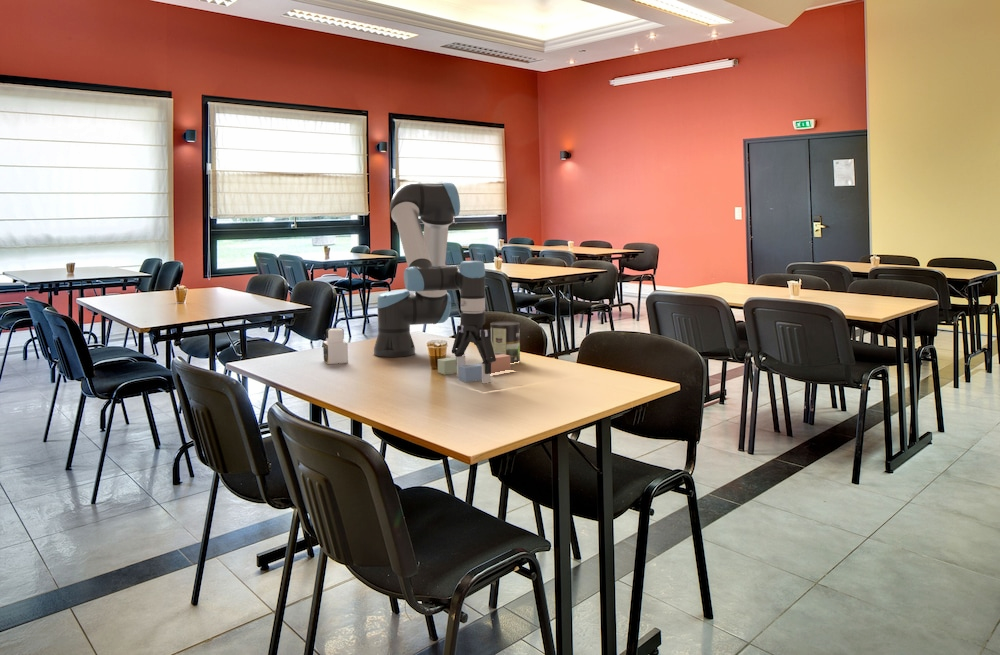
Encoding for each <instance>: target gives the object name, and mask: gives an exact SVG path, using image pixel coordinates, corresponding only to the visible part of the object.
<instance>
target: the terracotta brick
mask: <svg viewBox="0 0 1000 655" xmlns="http://www.w3.org/2000/svg"><path fill="white" fill-rule="evenodd" d="M491 358H492V357H491ZM495 358H496V361H494V362H492V363H491V373H495V372H500V371H505V370H510V369H511V365H510V356H509V355H505V354H500V355H495ZM486 359H487V358H486Z"/></svg>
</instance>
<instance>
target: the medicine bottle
mask: <svg viewBox="0 0 1000 655" xmlns="http://www.w3.org/2000/svg"><path fill="white" fill-rule="evenodd" d="M348 346H349V345H348V342H347V341H345V330H344V329H343V328H342V327H330V328H327V329H326V330H325V340H323V342H322V347H323V348H322V349H323V351H322V352H323V361H324V362H325V363H326V364H327V365H338V363H339V364H347V363H349V351H348V350H349V349H348V348H349V347H348Z"/></svg>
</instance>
